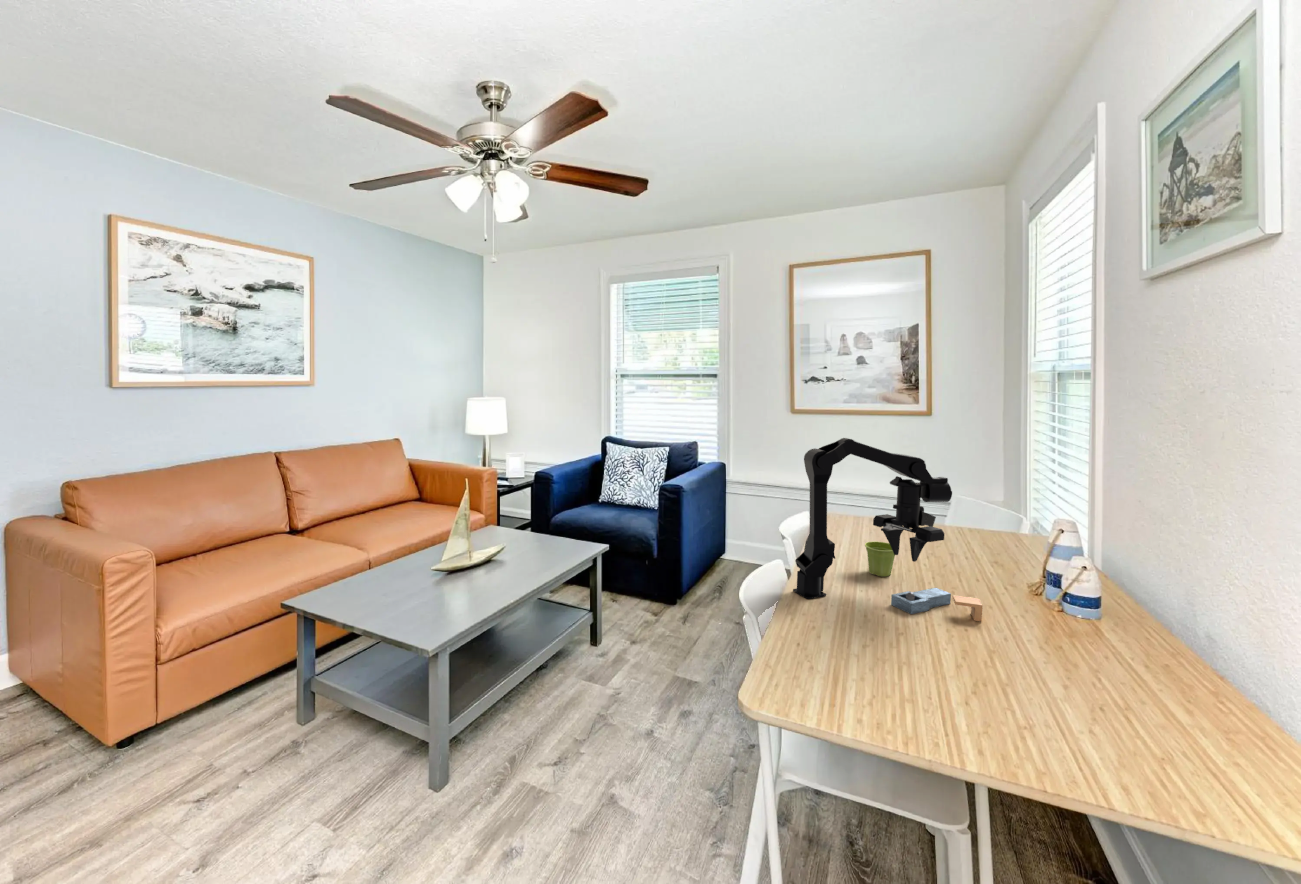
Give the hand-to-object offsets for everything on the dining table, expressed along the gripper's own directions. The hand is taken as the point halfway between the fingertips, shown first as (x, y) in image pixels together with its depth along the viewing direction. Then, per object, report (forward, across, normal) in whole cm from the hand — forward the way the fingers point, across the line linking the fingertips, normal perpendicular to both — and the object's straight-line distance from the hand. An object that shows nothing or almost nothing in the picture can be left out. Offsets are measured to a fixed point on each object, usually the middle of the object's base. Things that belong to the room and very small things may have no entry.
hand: (905, 558), depth 142 cm
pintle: (+10, -8, +6) cm, 14 cm away
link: (+10, -8, +2) cm, 13 cm away
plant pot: (+10, +14, -6) cm, 19 cm away
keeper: (+10, -16, -2) cm, 19 cm away
